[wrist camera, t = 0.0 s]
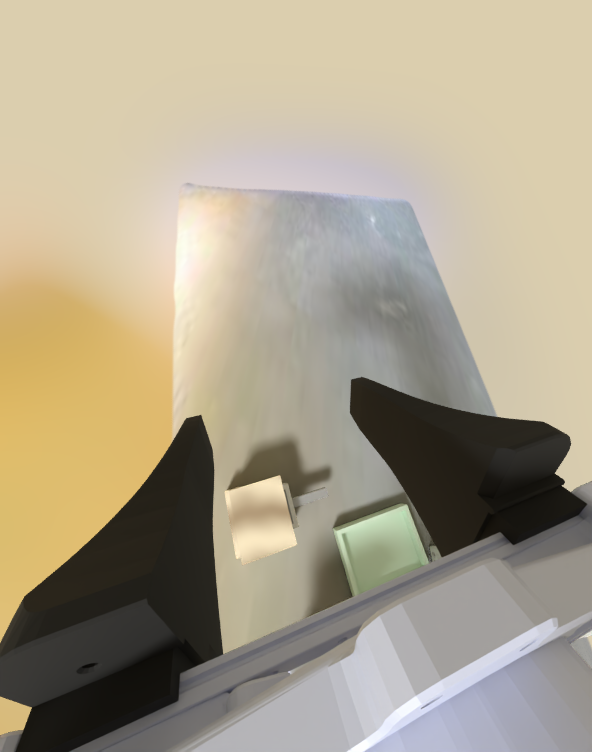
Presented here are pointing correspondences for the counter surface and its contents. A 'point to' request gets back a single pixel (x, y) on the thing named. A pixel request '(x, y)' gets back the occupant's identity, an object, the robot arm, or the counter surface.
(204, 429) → the robot arm
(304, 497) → the white block with post
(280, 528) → the beige block
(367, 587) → the tray
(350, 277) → the counter surface
